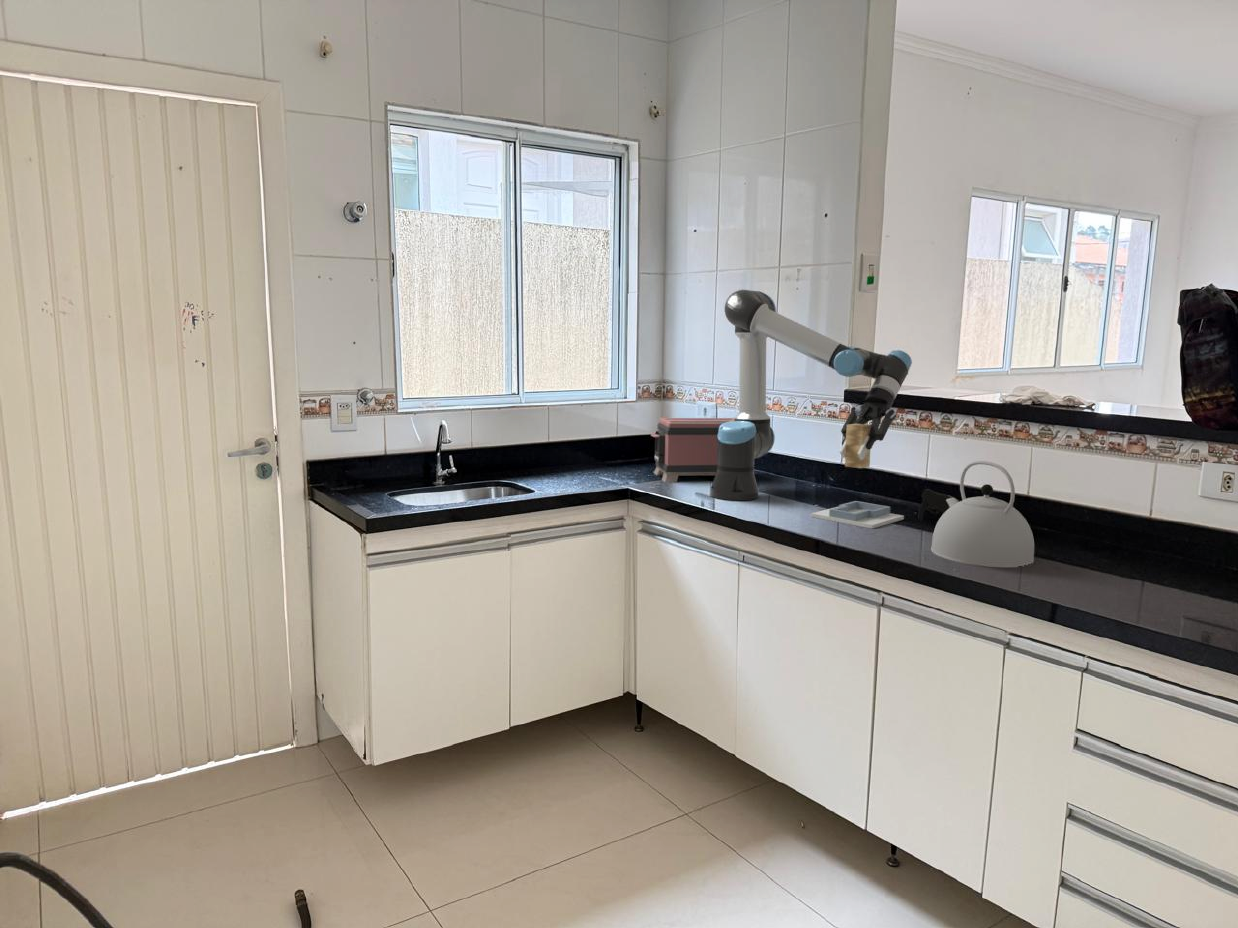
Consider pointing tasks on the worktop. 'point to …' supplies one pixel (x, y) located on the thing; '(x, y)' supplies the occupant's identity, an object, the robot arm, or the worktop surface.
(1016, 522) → the kettle
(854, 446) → the block
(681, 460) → the toaster
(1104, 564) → the worktop surface
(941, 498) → the gun
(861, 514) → the grey shape fitting board
